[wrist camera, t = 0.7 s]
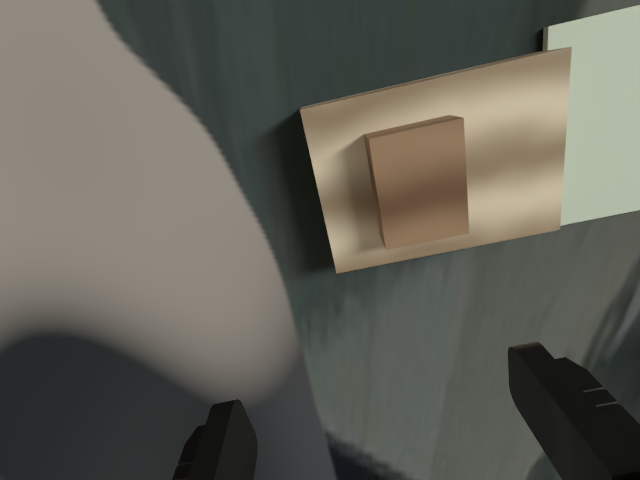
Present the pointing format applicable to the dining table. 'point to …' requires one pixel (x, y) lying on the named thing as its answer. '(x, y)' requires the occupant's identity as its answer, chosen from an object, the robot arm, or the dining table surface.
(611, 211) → the sage mat
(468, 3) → the dining table surface
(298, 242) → the dining table surface
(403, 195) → the walnut tile
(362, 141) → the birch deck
